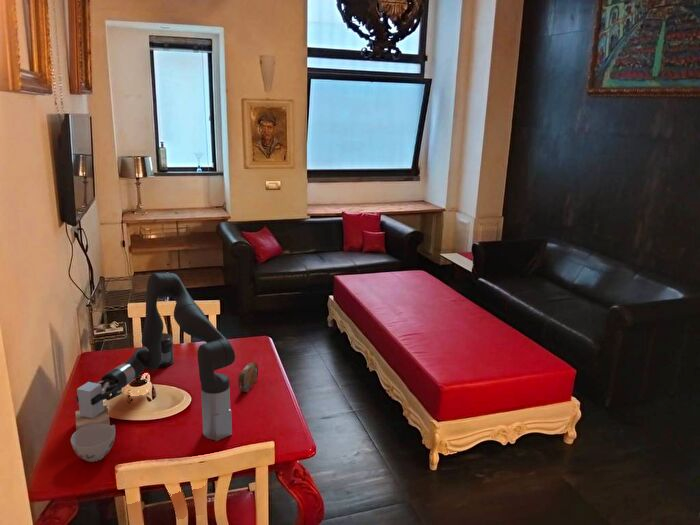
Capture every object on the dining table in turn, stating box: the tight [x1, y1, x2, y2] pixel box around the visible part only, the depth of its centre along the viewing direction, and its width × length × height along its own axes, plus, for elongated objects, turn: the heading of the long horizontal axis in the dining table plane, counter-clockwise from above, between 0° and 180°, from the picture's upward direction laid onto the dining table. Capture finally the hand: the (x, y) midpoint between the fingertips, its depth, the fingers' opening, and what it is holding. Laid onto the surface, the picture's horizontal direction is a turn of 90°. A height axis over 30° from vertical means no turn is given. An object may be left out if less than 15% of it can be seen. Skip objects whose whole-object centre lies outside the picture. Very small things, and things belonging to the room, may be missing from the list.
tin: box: [237, 362, 259, 393], centre depth 213 cm, size 15×3×8 cm, turn 168°
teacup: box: [70, 424, 116, 463], centre depth 168 cm, size 15×12×8 cm
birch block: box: [75, 404, 111, 431], centre depth 183 cm, size 10×10×5 cm
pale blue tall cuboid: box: [76, 381, 105, 418], centre depth 181 cm, size 5×5×10 cm
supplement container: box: [157, 332, 175, 369], centre depth 229 cm, size 10×10×12 cm
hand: (84, 400), depth 178 cm, fingers closed on pale blue tall cuboid, 5 cm apart
